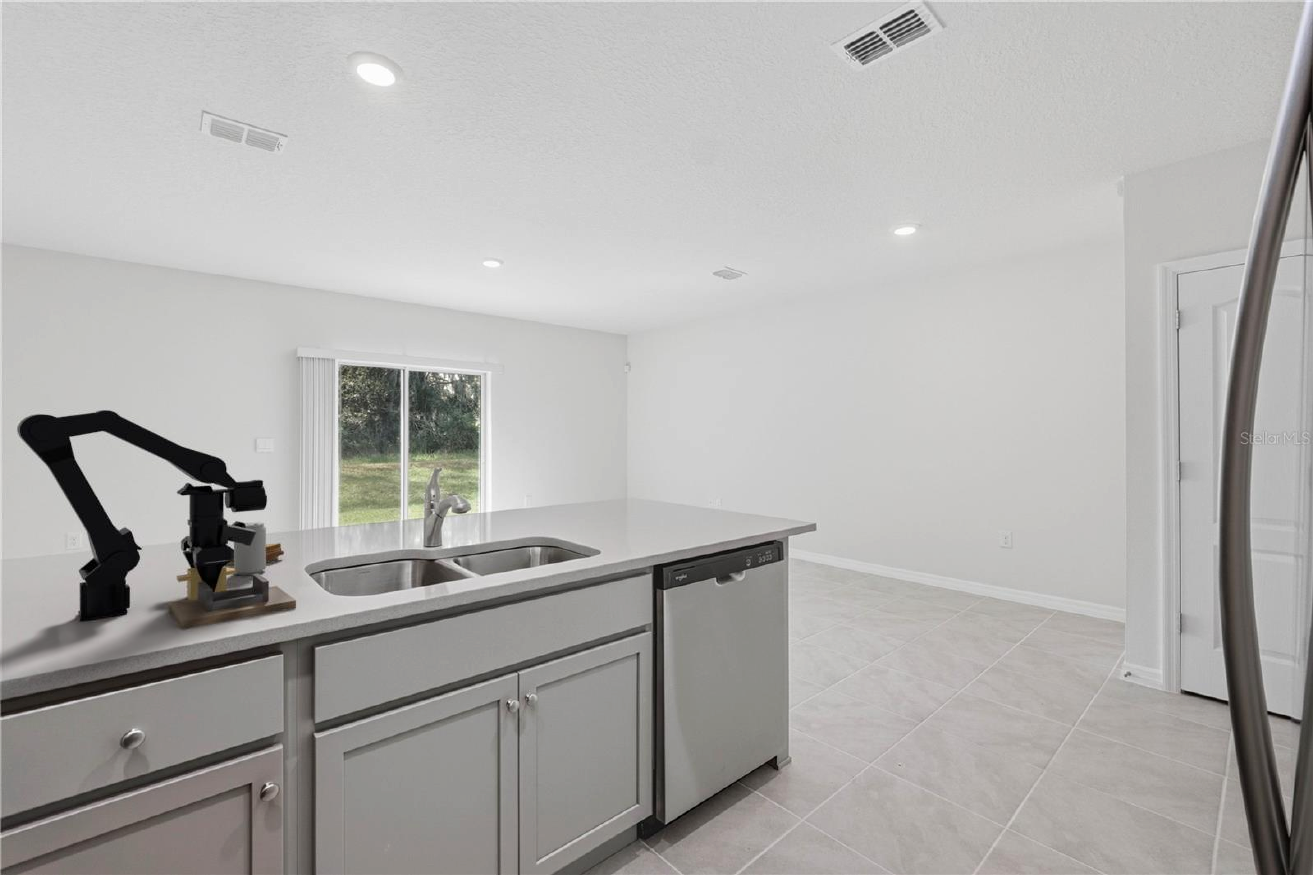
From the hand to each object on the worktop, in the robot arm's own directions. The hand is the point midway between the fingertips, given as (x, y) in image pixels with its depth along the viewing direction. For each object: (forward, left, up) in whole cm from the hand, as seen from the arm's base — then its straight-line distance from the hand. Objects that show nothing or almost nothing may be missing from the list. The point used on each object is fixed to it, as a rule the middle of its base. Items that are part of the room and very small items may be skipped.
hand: (206, 588), depth 123 cm
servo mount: (+2, -14, -2) cm, 14 cm away
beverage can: (+11, +16, -2) cm, 20 cm away
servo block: (0, 0, -2) cm, 2 cm away
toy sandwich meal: (+15, +29, -2) cm, 33 cm away
